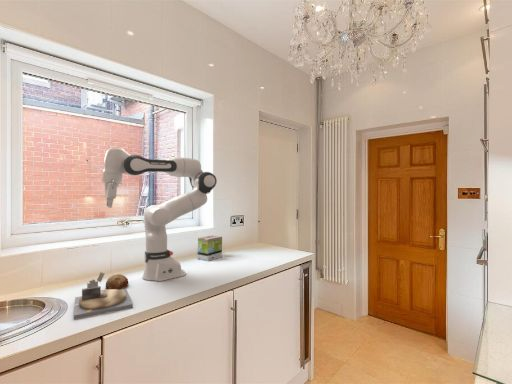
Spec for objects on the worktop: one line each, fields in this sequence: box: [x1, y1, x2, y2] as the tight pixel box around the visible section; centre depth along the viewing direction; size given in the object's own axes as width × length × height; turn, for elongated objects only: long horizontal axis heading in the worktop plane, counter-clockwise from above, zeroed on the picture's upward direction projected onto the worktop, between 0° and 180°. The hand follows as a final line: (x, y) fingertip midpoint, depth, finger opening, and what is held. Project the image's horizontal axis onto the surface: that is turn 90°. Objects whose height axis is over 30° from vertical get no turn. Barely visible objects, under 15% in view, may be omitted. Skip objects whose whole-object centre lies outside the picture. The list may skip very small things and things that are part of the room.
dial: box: [79, 285, 126, 309], centre depth 116 cm, size 17×17×6 cm
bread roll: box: [104, 274, 129, 290], centre depth 137 cm, size 10×10×8 cm
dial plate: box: [73, 288, 134, 320], centre depth 117 cm, size 20×20×2 cm
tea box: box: [196, 235, 223, 262], centre depth 195 cm, size 15×10×15 cm, turn 148°
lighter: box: [86, 271, 105, 288], centre depth 133 cm, size 7×2×8 cm, turn 137°
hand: (109, 207), depth 141 cm, fingers open, 8 cm apart
